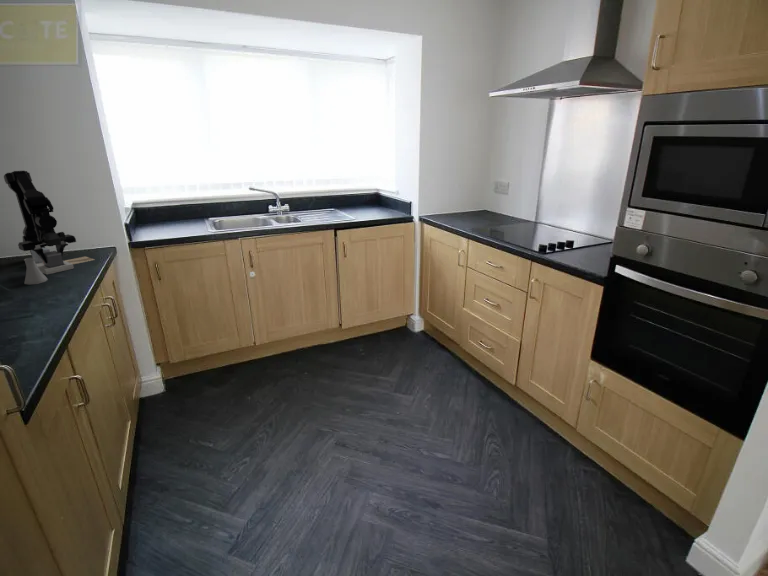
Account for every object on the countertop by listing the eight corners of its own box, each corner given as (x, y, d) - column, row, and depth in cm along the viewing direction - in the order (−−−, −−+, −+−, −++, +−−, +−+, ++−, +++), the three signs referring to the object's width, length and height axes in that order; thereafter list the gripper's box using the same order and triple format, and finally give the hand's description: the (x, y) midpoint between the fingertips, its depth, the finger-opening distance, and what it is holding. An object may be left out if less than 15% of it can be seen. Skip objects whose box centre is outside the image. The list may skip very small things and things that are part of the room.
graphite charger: (45, 268, 181) (40, 253, 179) (59, 265, 185) (54, 250, 183) (51, 271, 178) (46, 255, 175) (65, 268, 182) (61, 252, 179)
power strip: (22, 264, 189) (20, 257, 188) (48, 259, 197) (46, 252, 196) (47, 275, 175) (44, 268, 174) (74, 269, 183) (72, 262, 182)
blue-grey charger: (34, 265, 187) (30, 249, 185) (48, 262, 191) (43, 247, 189) (40, 267, 184) (35, 251, 182) (53, 264, 188) (49, 249, 186)
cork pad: (63, 261, 194) (63, 260, 194) (85, 257, 201) (85, 256, 201) (73, 265, 189) (73, 264, 188) (95, 260, 196) (95, 259, 195)
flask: (38, 286, 163) (31, 261, 160) (20, 285, 164) (12, 261, 160) (52, 279, 170) (45, 256, 167) (35, 279, 170) (27, 256, 167)
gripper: (23, 232, 163) (34, 270, 169) (77, 224, 178) (86, 259, 183) (12, 229, 169) (24, 266, 175) (65, 221, 184) (74, 255, 189)
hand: (53, 261), depth 180 cm, fingers closed on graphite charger, 5 cm apart
